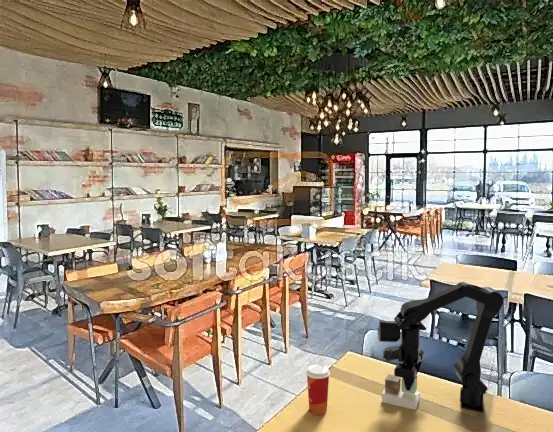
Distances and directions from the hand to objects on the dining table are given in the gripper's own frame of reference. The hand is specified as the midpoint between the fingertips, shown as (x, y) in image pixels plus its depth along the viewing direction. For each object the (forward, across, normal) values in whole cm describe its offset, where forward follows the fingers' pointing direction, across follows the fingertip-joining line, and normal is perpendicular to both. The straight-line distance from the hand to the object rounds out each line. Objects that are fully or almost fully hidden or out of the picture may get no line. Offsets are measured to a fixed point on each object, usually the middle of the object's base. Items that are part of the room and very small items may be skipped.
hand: (409, 387), depth 143 cm
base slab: (+6, 0, -3) cm, 6 cm away
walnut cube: (+2, 0, -5) cm, 6 cm away
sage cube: (+1, 0, 0) cm, 1 cm away
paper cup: (+6, +18, -25) cm, 31 cm away
